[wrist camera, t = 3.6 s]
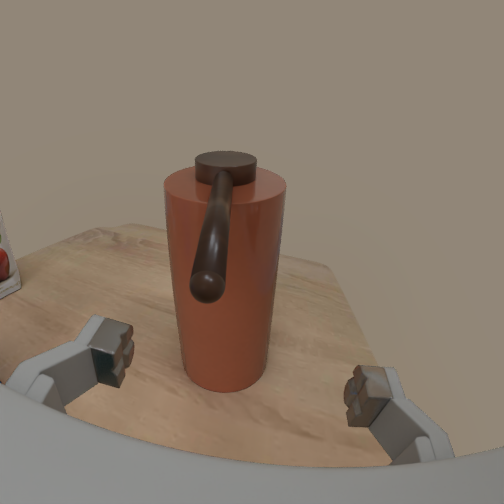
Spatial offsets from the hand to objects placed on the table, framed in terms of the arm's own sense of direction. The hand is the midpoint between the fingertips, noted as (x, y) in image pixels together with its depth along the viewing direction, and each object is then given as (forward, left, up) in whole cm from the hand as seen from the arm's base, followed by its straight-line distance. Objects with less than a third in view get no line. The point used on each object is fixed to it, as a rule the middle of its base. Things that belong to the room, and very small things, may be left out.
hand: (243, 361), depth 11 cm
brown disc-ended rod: (+2, -14, -1) cm, 14 cm away
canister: (+2, -21, -25) cm, 32 cm away
